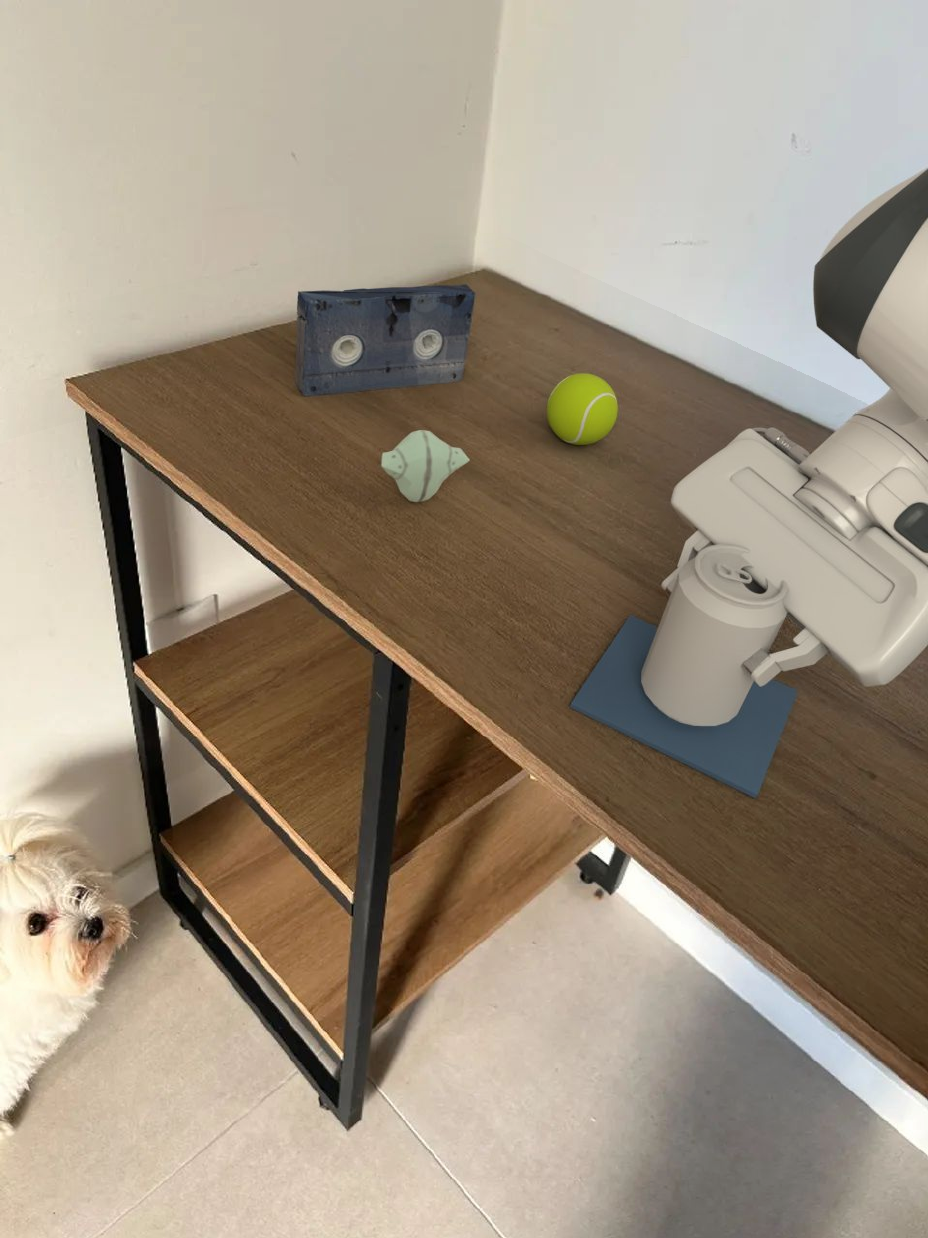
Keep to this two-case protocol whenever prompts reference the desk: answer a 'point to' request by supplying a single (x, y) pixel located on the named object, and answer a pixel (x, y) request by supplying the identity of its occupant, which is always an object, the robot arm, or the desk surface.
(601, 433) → the tennis ball
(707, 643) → the can
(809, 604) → the robot arm
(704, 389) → the desk surface
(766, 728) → the mat
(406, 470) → the striped green spinning top
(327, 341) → the vhs cassette tape
